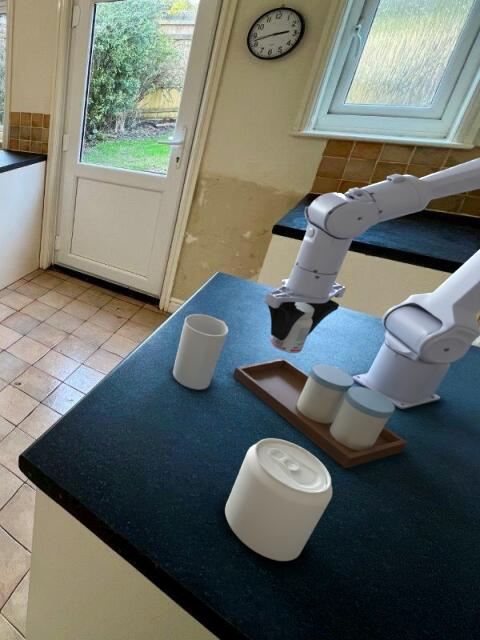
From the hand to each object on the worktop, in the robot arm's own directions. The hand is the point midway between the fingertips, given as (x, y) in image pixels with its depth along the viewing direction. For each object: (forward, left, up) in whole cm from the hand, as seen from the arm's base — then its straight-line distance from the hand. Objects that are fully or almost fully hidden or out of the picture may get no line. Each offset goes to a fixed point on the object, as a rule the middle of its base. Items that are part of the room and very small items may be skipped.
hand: (289, 334), depth 74 cm
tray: (+2, +8, -9) cm, 13 cm away
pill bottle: (0, 0, -3) cm, 3 cm away
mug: (+14, -4, -10) cm, 17 cm away
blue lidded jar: (+2, +15, -9) cm, 17 cm away
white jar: (+2, +9, -9) cm, 13 cm away
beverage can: (+27, +22, -10) cm, 36 cm away
